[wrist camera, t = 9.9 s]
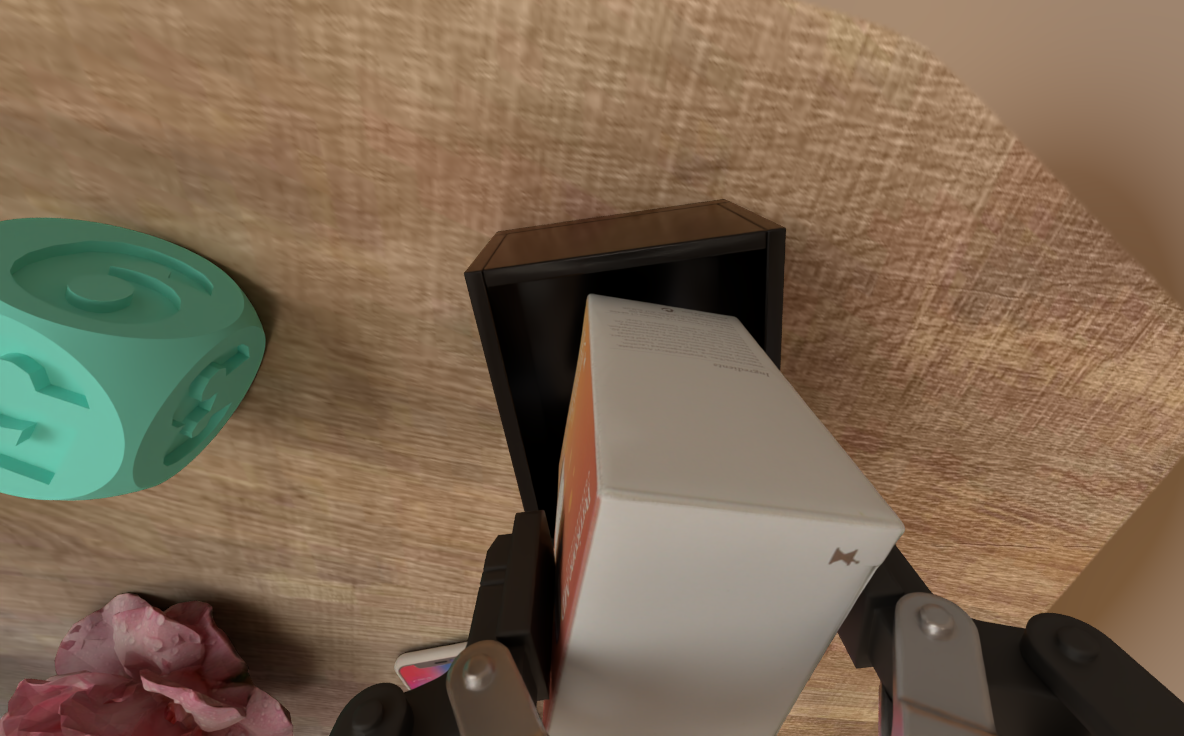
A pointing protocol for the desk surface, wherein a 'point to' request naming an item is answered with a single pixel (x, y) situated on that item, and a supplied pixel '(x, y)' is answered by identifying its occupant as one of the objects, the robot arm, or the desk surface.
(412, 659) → the smartphone
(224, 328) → the decorative dice
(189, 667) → the flower
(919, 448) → the desk surface
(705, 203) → the box
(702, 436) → the small box
